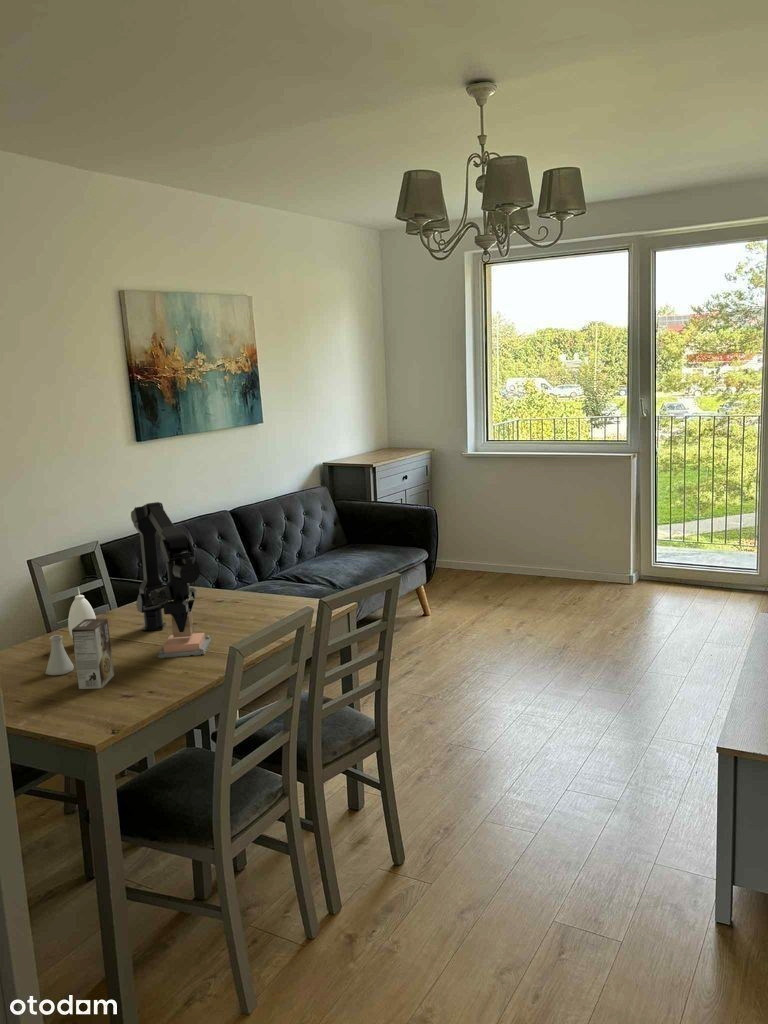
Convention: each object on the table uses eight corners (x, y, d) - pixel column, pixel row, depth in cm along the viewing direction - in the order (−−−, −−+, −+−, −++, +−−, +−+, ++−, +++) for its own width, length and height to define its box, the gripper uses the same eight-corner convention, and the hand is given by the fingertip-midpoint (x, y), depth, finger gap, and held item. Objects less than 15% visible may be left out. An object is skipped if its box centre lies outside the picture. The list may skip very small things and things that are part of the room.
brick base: (167, 643, 244) (166, 633, 244) (211, 640, 245) (210, 630, 244) (158, 658, 231) (157, 647, 231) (204, 654, 232) (203, 644, 232)
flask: (64, 676, 220) (60, 641, 219) (40, 676, 222) (36, 640, 220) (79, 667, 227) (75, 632, 226) (55, 666, 229) (51, 632, 227)
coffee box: (91, 676, 219) (84, 618, 217) (115, 675, 219) (108, 617, 216) (77, 689, 210) (70, 629, 208) (102, 688, 210) (95, 628, 207)
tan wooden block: (176, 632, 240) (174, 612, 239) (193, 631, 240) (192, 611, 239) (173, 637, 235) (171, 617, 234) (191, 636, 235) (189, 616, 234)
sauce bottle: (87, 649, 242) (80, 590, 240) (65, 648, 245) (58, 590, 242) (104, 641, 250) (97, 584, 247) (83, 640, 252) (76, 583, 249)
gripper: (156, 571, 243) (161, 621, 246) (142, 586, 225) (148, 641, 228) (194, 568, 244) (199, 619, 247) (183, 584, 226) (188, 638, 228)
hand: (183, 629), depth 237 cm, fingers closed on tan wooden block, 5 cm apart
